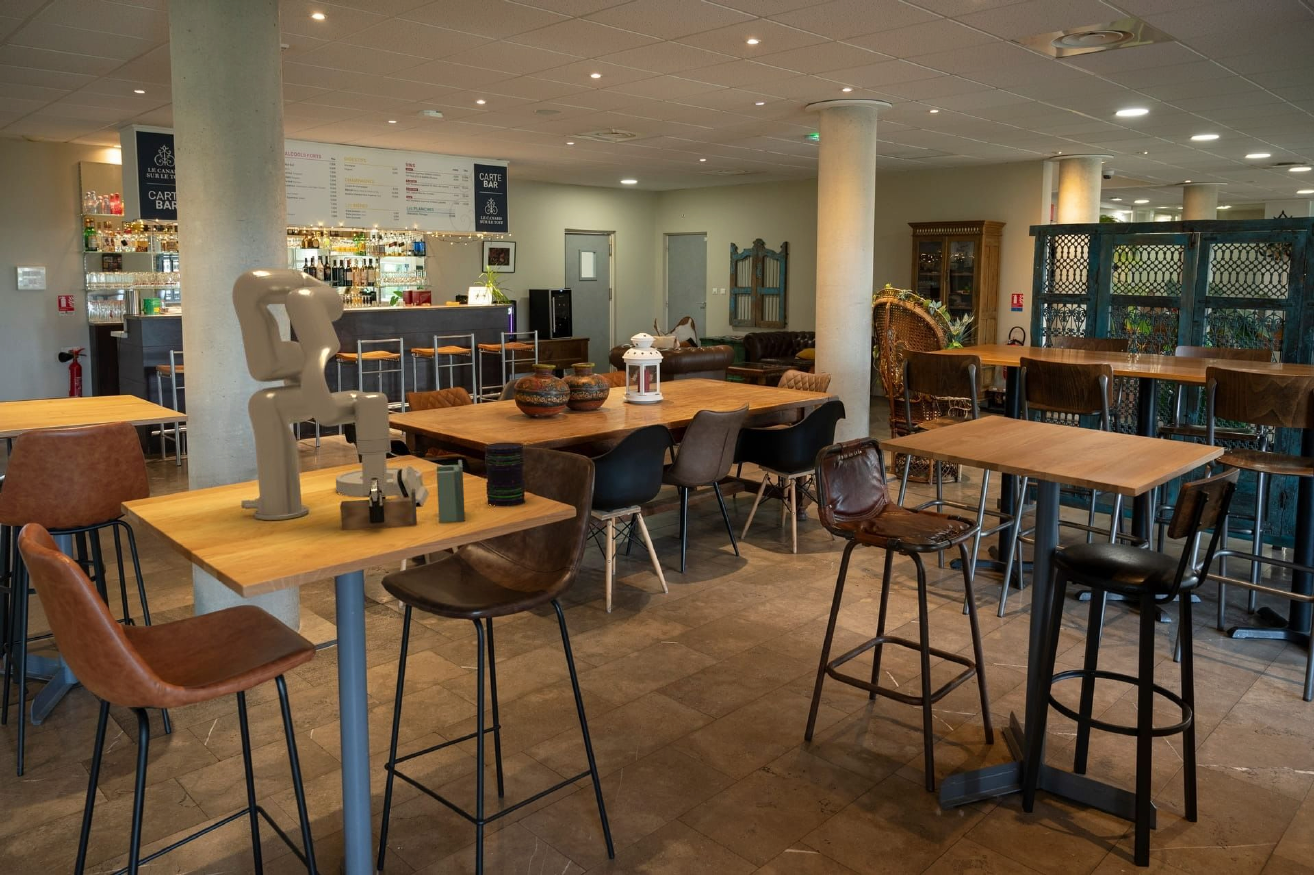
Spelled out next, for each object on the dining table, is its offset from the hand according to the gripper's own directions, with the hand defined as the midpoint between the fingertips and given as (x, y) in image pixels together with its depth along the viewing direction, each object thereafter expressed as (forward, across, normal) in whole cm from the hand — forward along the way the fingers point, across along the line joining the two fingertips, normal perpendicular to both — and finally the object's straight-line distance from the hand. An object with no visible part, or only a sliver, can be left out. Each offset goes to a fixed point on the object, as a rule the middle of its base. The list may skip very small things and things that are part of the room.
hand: (378, 518), depth 228 cm
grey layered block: (+2, -27, +7) cm, 27 cm away
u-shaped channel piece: (+2, -4, +17) cm, 17 cm away
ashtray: (+2, -45, -2) cm, 45 cm away
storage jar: (+2, -17, +31) cm, 35 cm away
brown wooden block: (+2, 0, 0) cm, 2 cm away
